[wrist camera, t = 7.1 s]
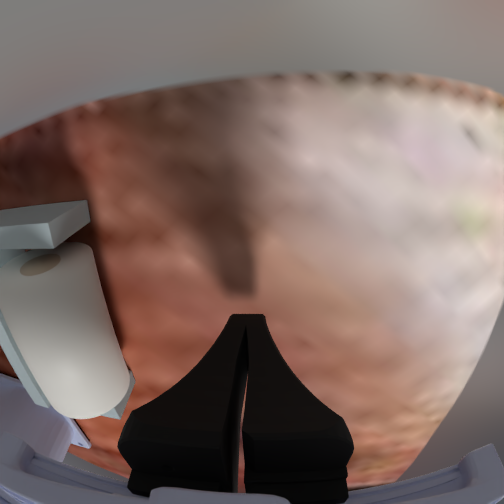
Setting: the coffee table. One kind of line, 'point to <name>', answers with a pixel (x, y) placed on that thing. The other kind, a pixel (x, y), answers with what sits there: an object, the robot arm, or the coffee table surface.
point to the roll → (64, 328)
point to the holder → (40, 237)
